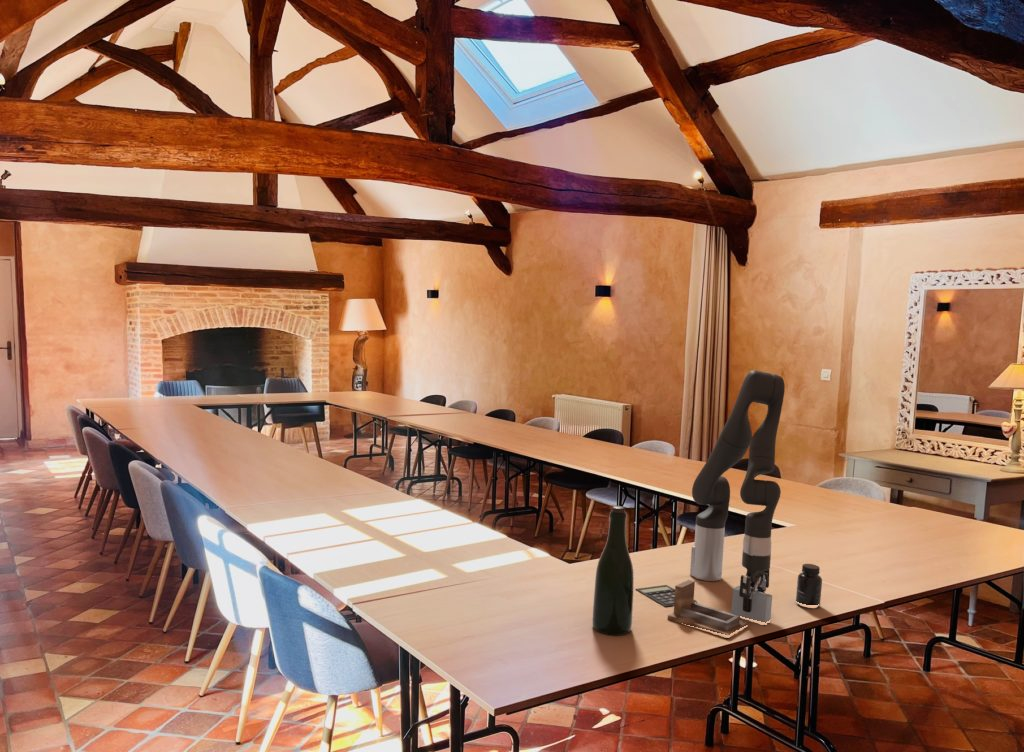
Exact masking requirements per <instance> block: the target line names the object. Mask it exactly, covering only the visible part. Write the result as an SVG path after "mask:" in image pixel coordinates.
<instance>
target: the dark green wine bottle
mask: <svg viewBox="0 0 1024 752" xmlns="http://www.w3.org/2000/svg"><path fill="white" fill-rule="evenodd" d="M625 509H626V508H625V507H624V506H621V505H613V506H612V507H611V510H610V512H609V525H608V526H609V527H608V533H607V534H608V535H607V539H606V543H605V546H604V547H603V550H602V552H601V554H600V557H599V559H598V562H597V565H596V571H595V580H594V591H593V592H594V593H593V604H592V605H593V607H592V617H591V618H592V619H591V620H592V627H593V629H594V630H595V631H597V632H599V633H602V634H605V635H611V636H622V635H626V634H628V633H629V632H630V631H631V629H632V625H633V610H634V609H633V608H634V581H635V580H634V579H635V577H634V566H633V562H632V559H631V556H630V552H629V549H628V545H627V539H626V538H627V537H626V523H627V522H626V521H627V512H626V510H625Z"/></svg>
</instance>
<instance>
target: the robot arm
mask: <svg viewBox="0 0 1024 752" xmlns="http://www.w3.org/2000/svg"><path fill="white" fill-rule="evenodd" d="M785 386H786V385H785V380H784V379H783V377H782V376H781V375H778V374H775V373H770V372H765V371H761V370H753V369H752V370H750V371H749V372H748V373H747V374H746V376H745V377H744V379H743V382H742V384H741V386H740V389H739V392H738V394H737V397H736V399H735V403H734V405H733V407H732V409H731V412H730V414H729V416H728V418H727V421H726V422H725V423H724V426H723V427H722V430H721V431H720V434H719V435H718V438H717V440H716V442H715V444H714V447H713V449H712V450H711V452H710V454H709V456H708V459H707V460H706V462H705V464H704V465H703V467H702V469H701V470H700V472H699V473H698V475H697V476H696V478H695V479H694V482H693V484H692V488H691V489H692V490H691V495H692V499H693V501H694V502H695V503H696V504H698V505H699V506H700V505H702V506H708V507H707V508H706V509H705V510H703V511H702V512H700V513H698V514H696V516H695V528H694V529H695V532H694V545H692V546H691V549H690V550H691V552H690V568H689V569H690V570H689V576H692V577H693V578H695V579H697V580H700V581H706V582H719V581H721V580H722V574H723V561H724V547H725V546H724V544H725V531H726V530H725V529H726V528H725V527H726V522H727V519H728V516H729V507H730V500H731V486H730V482H729V481H728V479H727V478H726V477H725V476H722V475H724V473H726V472H728V470H729V469H732V467H733V466H735V465H737V464H738V463H739V462H740V461H741V460H742V459H743V458H744V456H745V455H746V453H747V451H748V462H747V463H748V464H747V470H746V473H745V476H744V479H743V481H742V484H741V488H740V490H739V492H740V493H739V496H740V500H741V501H742V502H743V503H744V504H746V505H752V506H763V507H764V509H763V510H761V511H753V512H749V513H747V514H746V516H745V520H744V521H745V523H744V525H745V526H744V536H743V543H742V553H741V554H742V556H741V565H742V566H741V567H743V568H745V569H746V573H745V575H743V574H741V575H740V582H739V583H740V584H739V586H740V592H739V596H740V597H743V611H745V612H751V607H752V596H753V593H754V592H756V591H759V592H762V593H766V591H767V589H768V588H769V587H770V569H771V557H772V527H773V526H772V524H773V519H774V515H775V510H777V509H776V508H777V506H778V504H779V500H780V499H781V494H782V493H781V491H782V490H781V487H780V485H779V483H778V482H776V481H773V480H764V479H756V477H757V476H760V475H767V474H772V473H773V472H774V471H775V462H776V461H775V460H776V459H775V458H776V442H777V434H778V429H779V423H780V420H781V414H782V409H783V402H784V398H785V388H786V387H785ZM752 403H757V404H761V405H766V406H767V411H766V416H765V417H764V420H763V421H762V423H761V424H760V425H759V427H758V428H757V429H756V431H755V432H754V434H753V432H752V426H751V424H750V419H749V409H750V406H751V404H752ZM718 580H719V581H718ZM743 589H744V590H743Z"/></svg>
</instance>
